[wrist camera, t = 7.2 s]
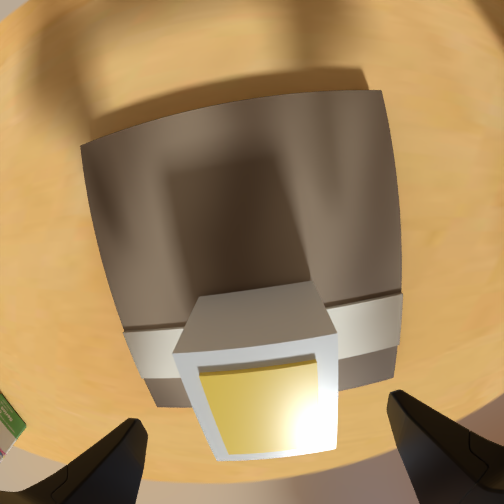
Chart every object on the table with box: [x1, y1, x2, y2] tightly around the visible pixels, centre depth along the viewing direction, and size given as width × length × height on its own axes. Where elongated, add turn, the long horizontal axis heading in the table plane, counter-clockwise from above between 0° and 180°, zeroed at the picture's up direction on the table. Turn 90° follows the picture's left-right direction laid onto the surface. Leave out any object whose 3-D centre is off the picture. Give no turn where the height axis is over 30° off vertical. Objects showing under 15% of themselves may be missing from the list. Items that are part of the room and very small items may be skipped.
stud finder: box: [172, 281, 338, 461], centre depth 11 cm, size 5×6×5 cm
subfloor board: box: [80, 90, 403, 408], centre depth 13 cm, size 14×15×1 cm
